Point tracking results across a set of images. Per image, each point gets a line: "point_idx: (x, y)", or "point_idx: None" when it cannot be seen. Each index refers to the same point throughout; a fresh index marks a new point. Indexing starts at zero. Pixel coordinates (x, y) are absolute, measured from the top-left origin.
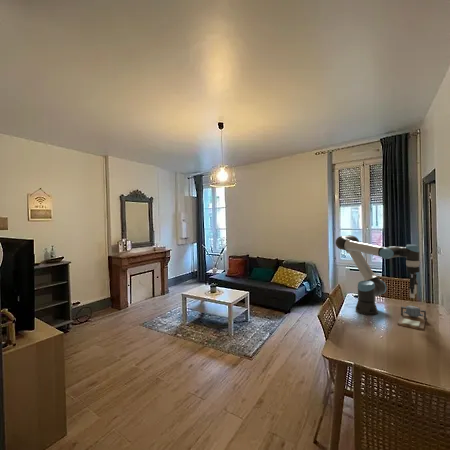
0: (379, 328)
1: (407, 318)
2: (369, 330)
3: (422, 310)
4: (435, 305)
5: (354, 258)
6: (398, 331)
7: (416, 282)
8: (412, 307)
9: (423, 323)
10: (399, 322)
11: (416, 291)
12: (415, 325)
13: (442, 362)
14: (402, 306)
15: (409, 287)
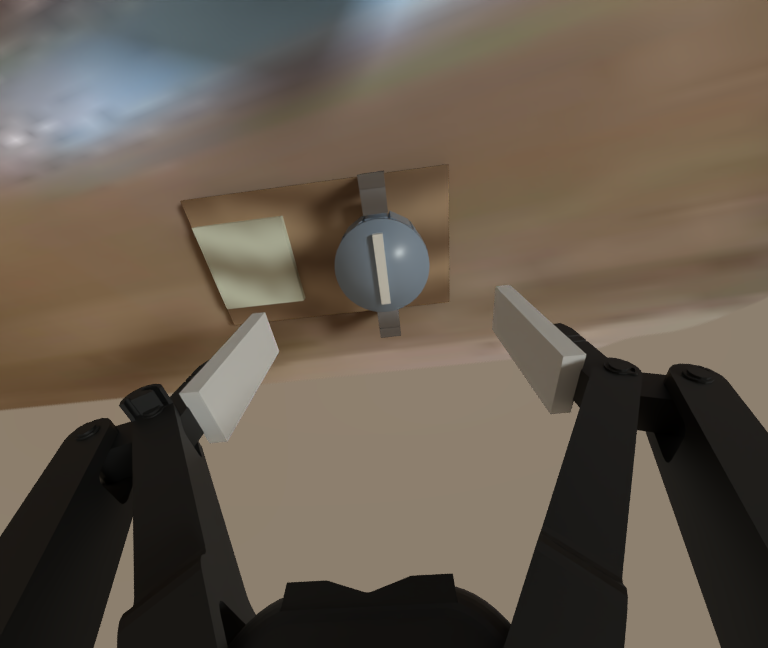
0: (5, 119)
1: (321, 229)
2: None
3: (387, 319)
4: (755, 293)
5: None
6: (99, 231)
7: (655, 433)
8: (377, 266)
9: (308, 312)
10: (201, 208)
11: (504, 345)
12: (221, 295)
13: (17, 402)
14: (380, 184)
15: (76, 432)
